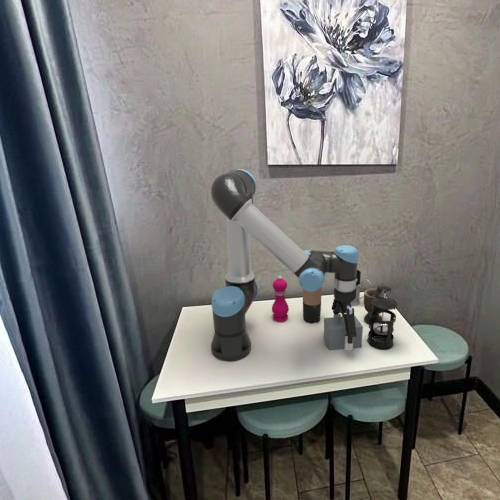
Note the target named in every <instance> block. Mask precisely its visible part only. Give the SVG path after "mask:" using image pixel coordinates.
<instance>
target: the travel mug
mask: <svg viewBox="0 0 500 500" xmlns="http://www.w3.org/2000/svg"><path fill="white" fill-rule="evenodd" d="M322 287H323V285H322V286H321V287H320V289H318V290H317V291H313V292H310V291H306V290H304V289H303V288H302V317H303V318H302V319H303V321H304V322H305V323H307V324H317V323H319V322H320V321H321V312H322Z"/></svg>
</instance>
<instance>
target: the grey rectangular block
mask: <svg viewBox="0 0 500 500" xmlns="http://www.w3.org/2000/svg"><path fill="white" fill-rule="evenodd" d="M354 317H355V326H356V335H357V336H356V337H353V349H361V348H362V346H363V343H362V342H363V332H364V326H363V325H362V323H361V321H360V320H359V319H358V318H357V316H356V315H355V314H354ZM345 334H347V333H346V328H345V322H344V317H343V316H342V315H341V317H333V316H332V317H324V318H323V340H324V342H325V344H326V346H327V348H328V349H329V350H328V351H340V350H341V351H342V350H345Z"/></svg>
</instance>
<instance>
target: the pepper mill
mask: <svg viewBox="0 0 500 500" xmlns="http://www.w3.org/2000/svg"><path fill="white" fill-rule="evenodd" d="M287 288H288V282H287V280H286V279H284V278H283V276H281V275H278V276H277V278H276V279H274V281H273V282H272V289H274V290H273V294H274V296H275V298H274V301H273V303H272V305H271V312H272V319H273V321H276V322H279V323H281V322H283V323H284V322H285V321H287V320H288V318H289V317H288V313H289V310H290V309H289V304H288V302H287V300H286V296H285V295H286V294H287V290H286V289H287Z"/></svg>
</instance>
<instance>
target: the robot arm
mask: <svg viewBox="0 0 500 500" xmlns="http://www.w3.org/2000/svg"><path fill="white" fill-rule="evenodd" d="M256 190H257V181H256V179H255V177H254V175H252V173H251V172H249V171H248V170H246V169H242V168H238V169H237V168H236V169H231V170H230V171H228V172H226V173H222V174H220V175H219V176H216V178H215V179H214V180H213V182H212V184H211V188H210V195H211V199H212V201H213V203H214V205H215V206H216V208H217V209H218V210H219V211H220V212H221V213H222V214H223V215H224V216H225V218H226V219H225V221H226V222H225V223H226V241H227V242H226V244H227V246H226V247H227V262H228V264H227V266H228V272H227V273H226V274H225V276H224V283H225V286H224V287H221V288H219V289H217V290H216V291H215V292H214V293H213V295H212V297H211V309H212V317H213V329H214V330H213V331H214V333H213V337H212V339H211V343H210V346H211V348H210V350H211V353H212V355H213V357H215V358H216V359H218V360H220V361H225V362H235V361H239V360H242V359H244V358H246V357H247V356H248V355H250V353H251V351H252V341H251V340H252V339H251V338H250V336H249V334H248V331H247V328H246V314H247V312H248V310H249V309H250V307H251V305H252V304H253V302H254V301H255V300H256V298H257V295H258V292H259V285H258V282H257V280H256V277H255V276H256V275H255V273H254V272H253V271H252V267H251V261H252V260H251V236H252V237H253V238H254V239H255V240H256V241H258V242H259V243H260V245H262V246H263V247H264V248H265V249H266V250H267V251H268V252H269V253H271V255H273V256H274V257H275V258H276V259H277V260H278V261H279V262H281V264H283V265H284V266H285V267H286V268H287V269H288V270H290V271H291V272H292V274H294V275H295V276H296V277H297V278H298V282H299V285H300V287H301V288H302V290H303V289H304V290H306V291H310V292H313V291H317V290H318V289H320V287H321V286H322V287H323V283H324V281H325V277H326V273H330V274H332V273H333V274H334V279H333V287H334V289H333V298H334V299H333V302H332V305H331V310H332V313H333V314H332V315H333V316H332V317H342V316H343V317H344V322H345V328H346V333H347V334H345V349H344V351H353V349H354V348H353V337H356V336H357V335H356V326H355V317H354V315H355V308H354V307H352V306H351V304H350V303H351V302H352V301H353V300H354V299H355V294H356V290H355V288H356V281H357V279H356V276H357V270H358V262H359V261H358V260H359V254H358V253H359V251H358V248H356V247H355V246H352V245H350V244H349V245H348V244H344V245H339V246H336V248H335V250H334V251H327V250H314V249H309V250H307V249H305V250H303V249H302V248H301V247H299V246H298V244H296V243H295V242H294V241H293V240H292V239H291V238H290V237H288V236H287V234H285V233H284V232H283V231H282V230H281V229H280V228H279V227H278V226H277V225H276V224H274V222H272V221H271V220H270V219H269V218H268V217H266V215H265V214H263V213H262V212H261V211H260V210H259V209H258V208H257V207H256V206H255V205H254V195H255V192H257V191H256Z"/></svg>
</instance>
